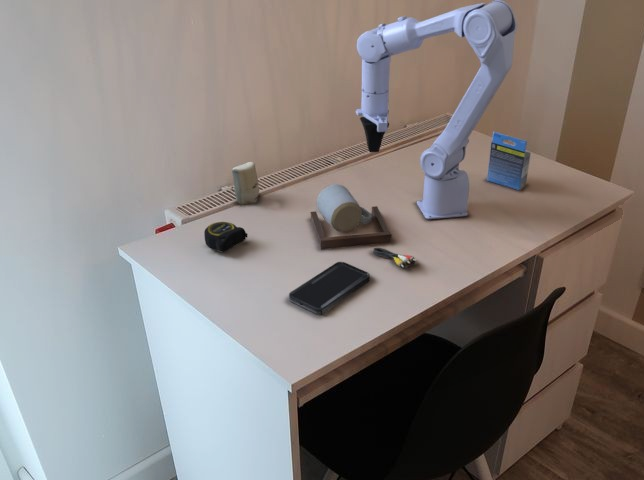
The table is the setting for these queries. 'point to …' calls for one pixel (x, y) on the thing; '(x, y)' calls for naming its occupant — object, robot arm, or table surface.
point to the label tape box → (508, 162)
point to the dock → (353, 240)
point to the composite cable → (396, 257)
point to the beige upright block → (246, 183)
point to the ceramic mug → (341, 208)
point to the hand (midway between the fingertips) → (373, 151)
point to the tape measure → (223, 236)
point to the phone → (329, 287)
